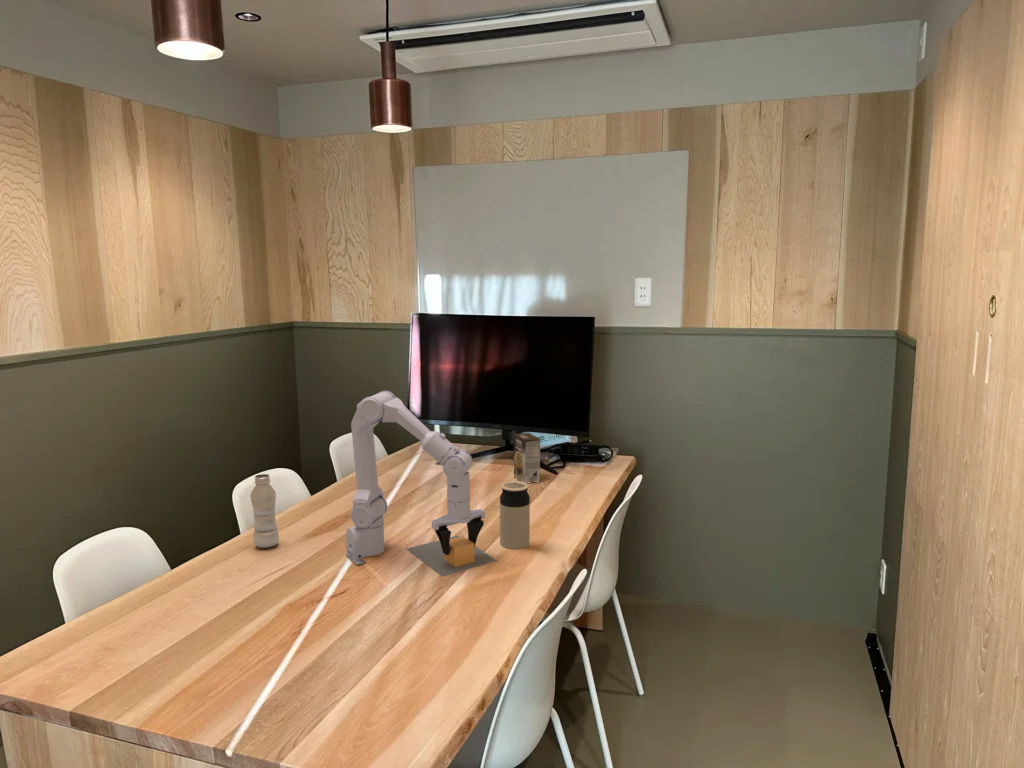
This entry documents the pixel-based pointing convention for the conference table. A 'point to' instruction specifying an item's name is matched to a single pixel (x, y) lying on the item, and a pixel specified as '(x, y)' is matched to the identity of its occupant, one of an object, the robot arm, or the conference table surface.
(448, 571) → the board
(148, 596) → the conference table surface
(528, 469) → the coffee box
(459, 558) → the wooden toy cube
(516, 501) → the travel mug
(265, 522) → the plastic bottle
